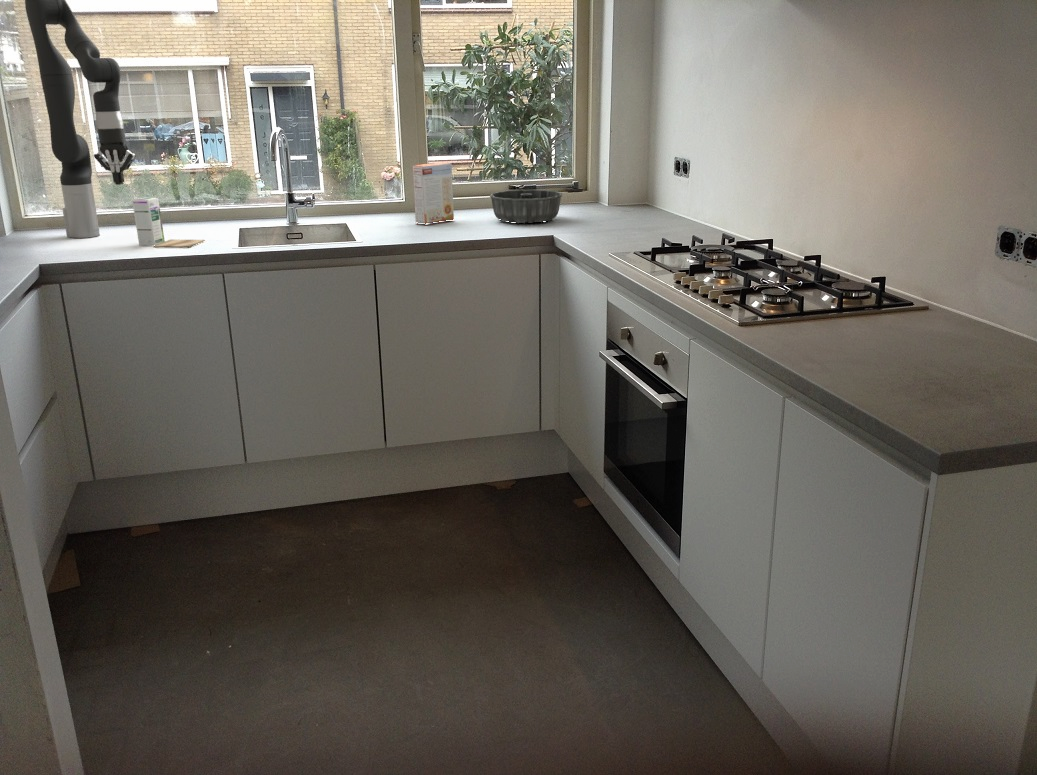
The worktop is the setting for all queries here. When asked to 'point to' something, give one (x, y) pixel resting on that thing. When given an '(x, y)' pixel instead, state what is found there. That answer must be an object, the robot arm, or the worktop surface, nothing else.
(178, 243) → the wooden slatted trivet
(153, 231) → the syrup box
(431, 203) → the cracker box
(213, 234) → the worktop surface
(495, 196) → the bundt pan
